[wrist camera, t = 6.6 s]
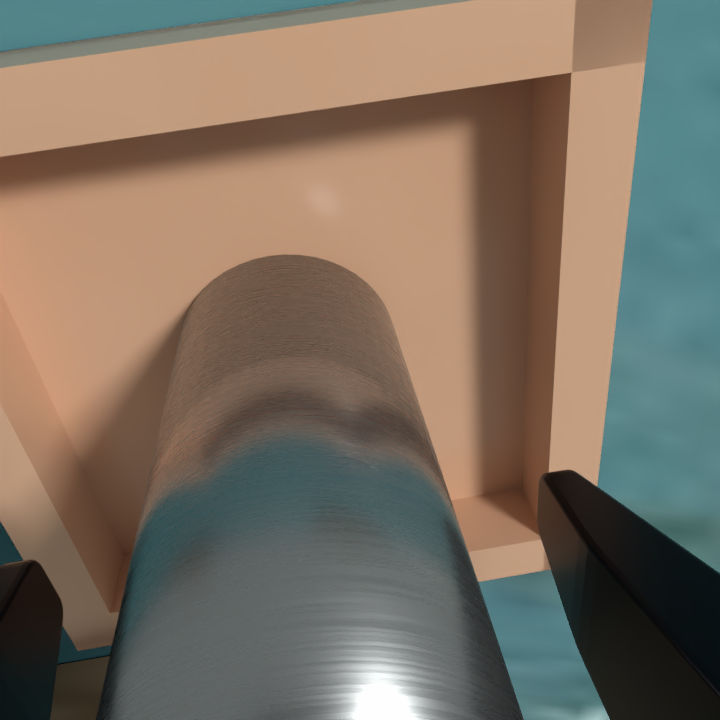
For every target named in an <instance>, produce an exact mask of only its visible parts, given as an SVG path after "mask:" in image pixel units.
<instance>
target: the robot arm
mask: <svg viewBox="0 0 720 720" xmlns="http://www.w3.org/2000/svg"><path fill="white" fill-rule="evenodd" d="M537 525H538V530H539V534H540V538H541V541H542V544H543V547H544V550H545V553H546V556H547V559H548V562H549V565H550V568H551V571H552V574H553V577H554V580H555V583H556V586H557V589H558V592H559V595H560V598H561V601H562V604H563V607H564V610H565V613H566V616H567V619H568V622H569V625H570V628H571V631H572V634H573V636H574V639H575V642H576V645H577V647H578V650H579V652H580V654H581V657H582V659H583V662H584V664H585V666H586V668H587V670H588V673H589V675H590V677H591V679H592V681H593V683H594V686H595V688H596V690H597V692H598V694H599V697H600V699H601V701H602V703H603V705H604V707H605V710H606V712H607V714H608V716H609V718H610V720H720V573H719V572H717V571H716V570H714V569H713V568H711V567H710V566H709V565H707V564H706V563H704V562H703V561H702V560H700V559H699V558H697V557H696V556H695V555H693V554H692V553H690V552H689V551H687V550H686V549H685V548H683V547H682V546H680V545H679V544H678V543H676V542H675V541H673V540H672V539H670V538H669V537H668V536H666V535H665V534H663V533H662V532H661V531H659V530H658V529H656V528H655V527H654V526H652V525H651V524H649V523H648V522H646V521H645V520H644V519H642V518H641V517H639V516H638V515H637V514H635V513H634V512H632V511H631V510H629V509H628V508H627V507H625V506H624V505H622V504H621V503H620V502H618V501H617V500H615V499H614V498H613V497H611V496H610V495H608V494H607V493H605V492H604V491H603V490H601V489H600V488H598V487H597V486H596V485H594V484H593V483H591V482H590V481H588V480H587V479H586V478H584V477H583V476H581V475H580V474H579V473H577V472H575V471H573V470H569V469H567V470H561V471H555V472H549V473H544V474H543V475H541V477H540V479H539V484H538V506H537ZM62 623H63V606H62V602H61V599H60V597H59V595H58V593H57V592H56V590H55V588H54V586H53V585H52V583H51V581H50V579H49V578H48V576H47V574H46V572H45V571H44V569H43V567H42V566H41V564H40V563H39V562H37V561H36V560H31V559H30V560H24V561H18V562H12V563H6V564H3V565H1V566H0V720H50V718H51V710H52V702H53V694H54V686H55V679H56V671H57V663H58V655H59V647H60V639H61V631H62Z"/></svg>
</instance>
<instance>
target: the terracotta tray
mask: <svg viewBox="0 0 720 720" xmlns="http://www.w3.org/2000/svg"><path fill="white" fill-rule="evenodd" d="M651 9H652V0H360V1H353V2H346V3H338V4H331V5H324V6H317V7H310V8H303V9H296V10H289V11H282V12H275V13H268V14H261V15H254V16H247V17H240V18H233V19H226V20H219V21H212V22H205V23H198V24H191V25H184V26H177V27H170V28H163V29H156V30H149V31H142V32H135V33H128V34H121V35H114V36H106V37H99V38H92V39H85V40H78V41H71V42H64V43H57V44H50V45H43V46H36V47H29V48H22V49H15V50H8V51H1V52H0V521H1V523H2V525H3V526H4V528H5V530H6V531H7V533H8V535H9V537H10V538H11V540H12V542H13V543H14V545H15V547H16V548H17V550H18V552H19V553H20V555H21V557H22V558H23V560H30V559H31V560H36V561H37V562H39V563H40V564H41V566H42V567H43V569H44V571H45V572H46V574H47V576H48V578H49V579H50V581H51V583H52V585H53V586H54V588H55V590H56V592H57V593H58V595H59V597H60V599H61V602H62V606H63V623H62V625H63V627H64V629H65V630H66V632H67V634H68V635H69V637H70V639H71V640H72V642H73V644H74V645H75V647H76V649H77V650H78V651H80V650H86V649H92V648H98V647H103V646H109V645H112V643H113V639H114V634H115V629H116V625H117V620H118V616H119V611H120V607H121V602H122V597H123V593H124V588H125V584H126V579H127V574H128V570H129V565H130V561H131V556H132V552H133V547H134V542H135V538H136V533H137V529H138V524H139V519H140V515H141V510H142V506H143V501H144V497H145V492H146V487H147V483H148V478H149V474H150V469H151V464H152V460H153V455H154V451H155V446H156V441H157V437H158V432H159V428H160V423H161V419H162V414H163V409H164V405H165V400H166V396H167V391H168V386H169V382H170V377H171V373H172V368H173V364H174V359H175V354H176V350H177V345H178V341H179V336H180V332H181V328H182V324H183V321H184V319H185V316H186V314H187V311H188V310H189V308H190V306H191V305H192V303H193V301H194V300H195V298H196V297H197V296H198V295H199V294H200V292H201V291H202V290H203V289H204V288H205V287H206V286H207V285H208V284H209V283H211V282H212V281H213V280H214V279H215V278H217V277H218V276H220V275H221V274H223V273H224V272H226V271H227V270H229V269H231V268H233V267H235V266H237V265H239V264H242V263H245V262H248V261H250V260H253V259H257V258H262V257H266V256H273V255H284V254H287V255H304V256H311V257H317V258H320V259H324V260H327V261H331V262H333V263H335V264H338V265H340V266H343V267H344V268H346V269H348V270H350V271H351V272H353V273H355V274H356V275H358V276H359V277H360V278H361V279H363V280H364V281H365V282H367V283H368V284H369V286H370V287H371V288H372V289H373V290H374V291H375V292H376V293H377V294H378V296H379V297H380V298H381V300H382V301H383V303H384V304H385V306H386V308H387V310H388V312H389V314H390V317H391V320H392V323H393V326H394V329H395V332H396V335H397V338H398V341H399V344H400V347H401V350H402V353H403V356H404V359H405V362H406V365H407V368H408V371H409V374H410V377H411V380H412V383H413V387H414V390H415V393H416V396H417V399H418V402H419V405H420V408H421V411H422V414H423V417H424V420H425V423H426V426H427V429H428V432H429V435H430V438H431V441H432V444H433V447H434V450H435V453H436V456H437V459H438V462H439V465H440V468H441V471H442V474H443V477H444V480H445V483H446V486H447V489H448V492H449V495H450V498H451V501H452V504H453V507H454V510H455V513H456V517H457V520H458V523H459V526H460V529H461V532H462V535H463V538H464V541H465V544H466V547H467V550H468V553H469V556H470V559H471V562H472V565H473V568H474V571H475V574H476V577H477V580H478V582H480V581H486V580H492V579H497V578H503V577H509V576H515V575H521V574H526V573H532V572H538V571H544V570H550V569H551V568H550V565H549V562H548V559H547V556H546V553H545V550H544V547H543V544H542V541H541V538H540V534H539V530H538V525H537V506H538V484H539V479H540V477H541V475H543V474H544V473H549V472H555V471H561V470H567V469H569V470H573V471H575V472H577V473H579V474H580V475H581V476H583V477H584V478H586V479H587V480H588V481H590V482H591V483H593V484H594V485H596V486H597V483H598V474H599V466H600V457H601V448H602V439H603V431H604V422H605V413H606V404H607V395H608V387H609V378H610V369H611V360H612V352H613V343H614V334H615V325H616V316H617V308H618V299H619V290H620V281H621V273H622V264H623V255H624V246H625V237H626V229H627V220H628V211H629V202H630V194H631V185H632V176H633V167H634V158H635V150H636V141H637V132H638V123H639V115H640V106H641V97H642V88H643V79H644V71H645V62H646V53H647V44H648V36H649V27H650V18H651Z"/></svg>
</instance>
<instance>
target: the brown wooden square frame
mask: <svg viewBox="0 0 720 720" xmlns="http://www.w3.org/2000/svg"><path fill="white" fill-rule="evenodd" d="M109 657H110V656H106V657H101V658H95V659H89V660H83V661H78V662H72V663H66V664H60V665H57V671H56V679H55V686H54V694H53V702H52V710H51V718H50V720H96V717H97V712H98V707H99V703H100V698H101V694H102V689H103V685H104V680H105V675H106V671H107V666H108V662H109Z"/></svg>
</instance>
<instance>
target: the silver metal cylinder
mask: <svg viewBox="0 0 720 720" xmlns="http://www.w3.org/2000/svg"><path fill="white" fill-rule="evenodd" d="M96 720H524V719H523V716H522V713H521V710H520V707H519V704H518V701H517V698H516V695H515V692H514V689H513V686H512V683H511V680H510V677H509V674H508V671H507V668H506V665H505V662H504V659H503V656H502V653H501V650H500V647H499V643H498V640H497V637H496V634H495V631H494V628H493V625H492V622H491V619H490V616H489V613H488V610H487V607H486V604H485V601H484V598H483V595H482V592H481V589H480V586H479V583H478V580H477V577H476V574H475V571H474V568H473V565H472V562H471V559H470V556H469V553H468V550H467V547H466V544H465V541H464V538H463V535H462V532H461V529H460V526H459V523H458V520H457V517H456V513H455V510H454V507H453V504H452V501H451V498H450V495H449V492H448V489H447V486H446V483H445V480H444V477H443V474H442V471H441V468H440V465H439V462H438V459H437V456H436V453H435V450H434V447H433V444H432V441H431V438H430V435H429V432H428V429H427V426H426V423H425V420H424V417H423V414H422V411H421V408H420V405H419V402H418V399H417V396H416V393H415V390H414V387H413V383H412V380H411V377H410V374H409V371H408V368H407V365H406V362H405V359H404V356H403V353H402V350H401V347H400V344H399V341H398V338H397V335H396V332H395V329H394V326H393V323H392V320H391V317H390V314H389V312H388V310H387V308H386V306H385V304H384V303H383V301H382V300H381V298H380V297H379V296H378V294H377V293H376V292H375V291H374V290H373V289H372V288H371V287H370V286H369V284H368V283H367V282H365V281H364V280H363V279H361V278H360V277H359V276H358V275H356V274H355V273H353V272H351V271H350V270H348V269H346V268H344V267H343V266H340V265H338V264H335V263H333V262H331V261H327V260H324V259H320V258H317V257H311V256H304V255H287V254H284V255H273V256H266V257H262V258H257V259H253V260H250V261H248V262H245V263H242V264H239V265H237V266H235V267H233V268H231V269H229V270H227V271H226V272H224V273H223V274H221V275H220V276H218V277H217V278H215V279H214V280H213V281H212V282H211V283H209V284H208V285H207V286H206V287H205V288H204V289H203V290H202V291H201V292H200V294H199V295H198V296H197V297H196V298H195V300H194V301H193V303H192V305H191V306H190V308H189V310H188V311H187V314H186V316H185V319H184V321H183V324H182V328H181V332H180V336H179V341H178V345H177V350H176V354H175V359H174V364H173V368H172V373H171V377H170V382H169V386H168V391H167V396H166V400H165V405H164V409H163V414H162V419H161V423H160V428H159V432H158V437H157V441H156V446H155V451H154V455H153V460H152V464H151V469H150V474H149V478H148V483H147V487H146V492H145V497H144V501H143V506H142V510H141V515H140V519H139V524H138V529H137V533H136V538H135V542H134V547H133V552H132V556H131V561H130V565H129V570H128V574H127V579H126V584H125V588H124V593H123V597H122V602H121V607H120V611H119V616H118V620H117V625H116V629H115V634H114V639H113V643H112V648H111V652H110V657H109V662H108V666H107V671H106V675H105V680H104V685H103V689H102V694H101V698H100V703H99V707H98V712H97V717H96Z"/></svg>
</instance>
